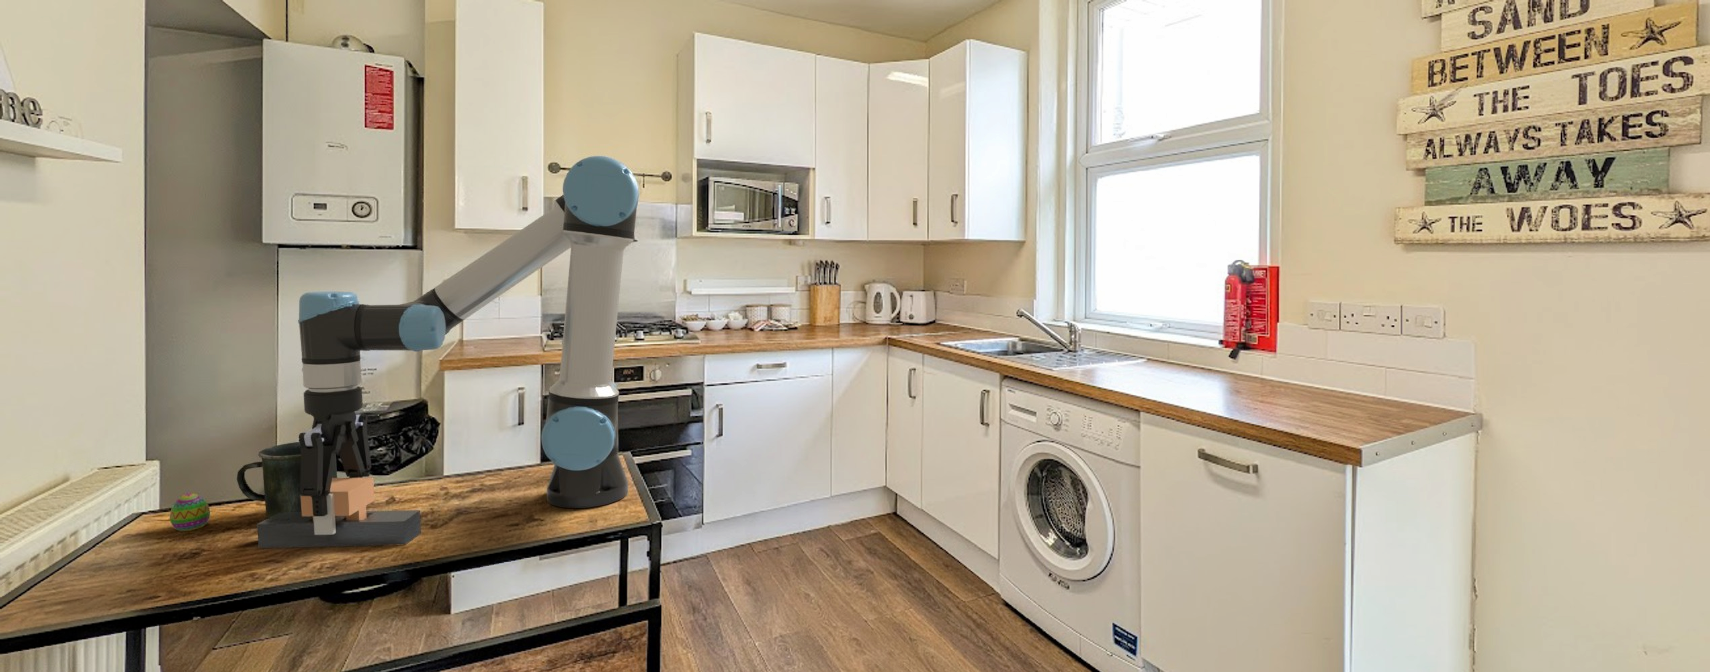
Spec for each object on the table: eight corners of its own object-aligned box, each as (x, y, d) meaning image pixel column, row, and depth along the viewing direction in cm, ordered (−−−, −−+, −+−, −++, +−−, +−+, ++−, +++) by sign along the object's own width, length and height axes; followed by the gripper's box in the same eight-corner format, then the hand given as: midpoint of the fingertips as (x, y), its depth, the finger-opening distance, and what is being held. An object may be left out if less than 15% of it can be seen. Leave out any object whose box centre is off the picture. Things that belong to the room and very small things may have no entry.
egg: (217, 525, 118) (214, 491, 118) (181, 535, 114) (177, 500, 113) (201, 520, 120) (198, 487, 120) (164, 530, 116) (161, 496, 115)
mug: (333, 518, 123) (329, 453, 121) (228, 530, 116) (222, 461, 115) (348, 498, 132) (344, 438, 131) (252, 508, 126) (247, 444, 125)
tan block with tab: (302, 534, 109) (300, 492, 108) (331, 517, 116) (328, 477, 115) (350, 533, 110) (348, 491, 109) (375, 517, 117) (373, 477, 116)
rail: (421, 532, 117) (420, 510, 117) (405, 544, 112) (404, 521, 112) (280, 535, 115) (279, 512, 114) (258, 548, 110) (256, 524, 109)
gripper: (346, 376, 120) (352, 503, 122) (261, 399, 100) (271, 550, 103) (392, 377, 121) (397, 502, 123) (317, 400, 101) (325, 549, 104)
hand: (340, 524), depth 113 cm, fingers closed on tan block with tab, 7 cm apart
